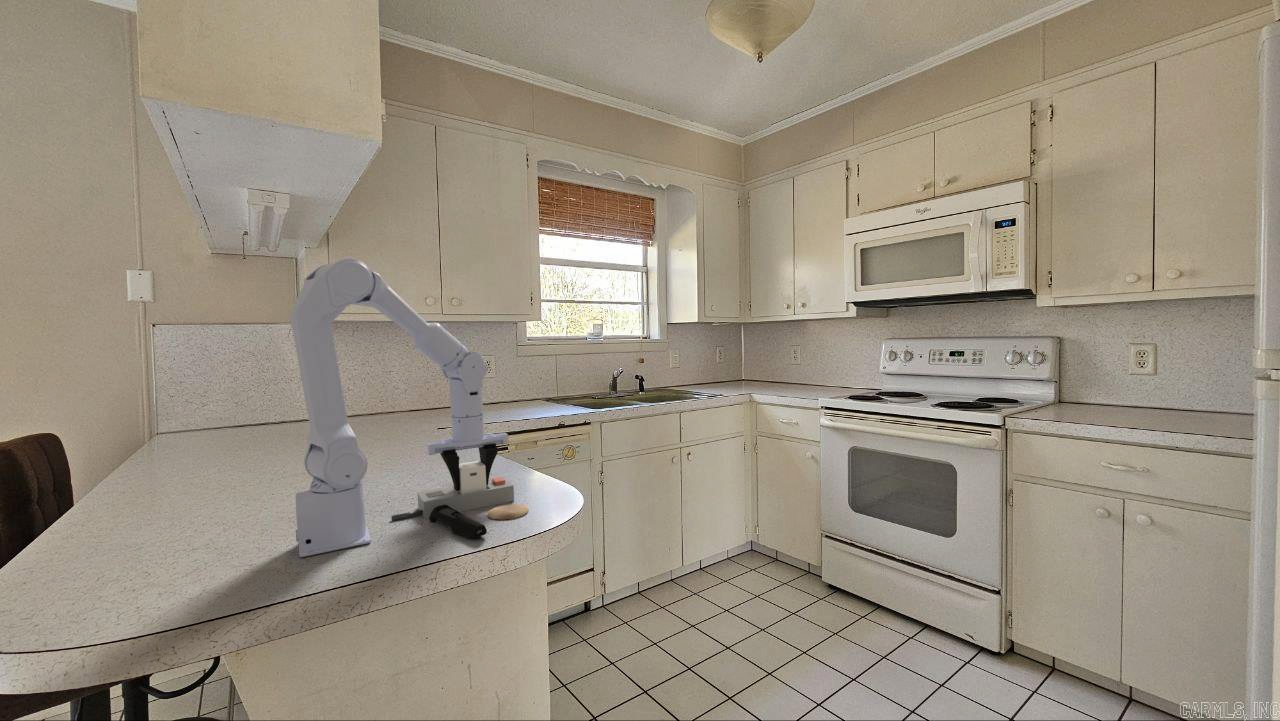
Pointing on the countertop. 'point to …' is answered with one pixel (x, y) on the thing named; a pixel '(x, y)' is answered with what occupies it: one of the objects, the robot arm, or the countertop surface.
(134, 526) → the countertop surface
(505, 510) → the coaster
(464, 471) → the box
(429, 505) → the power strip
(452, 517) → the electric trimmer
